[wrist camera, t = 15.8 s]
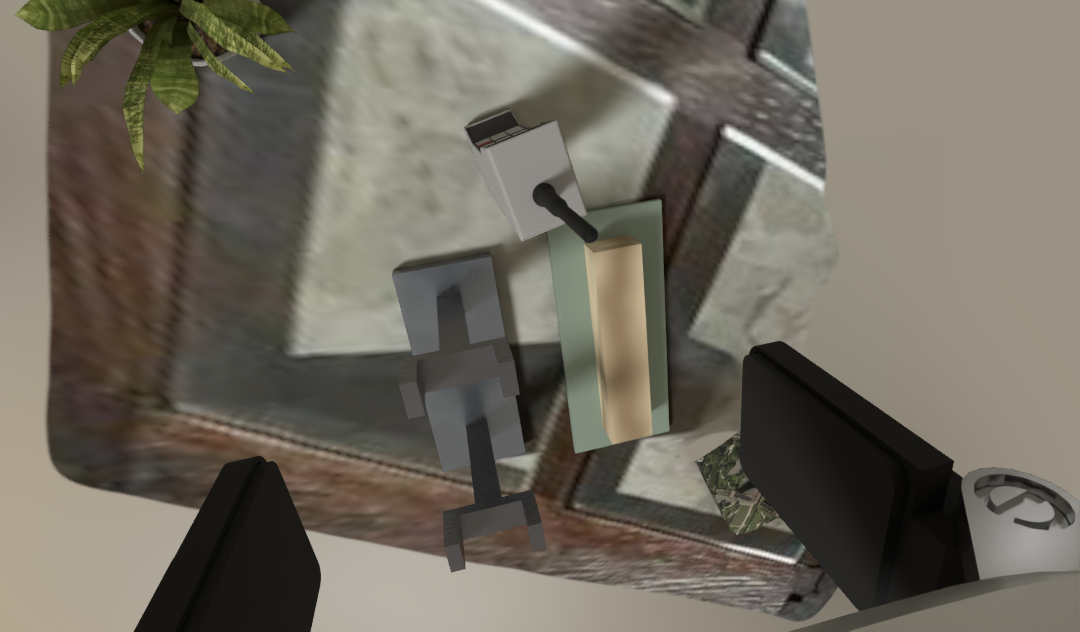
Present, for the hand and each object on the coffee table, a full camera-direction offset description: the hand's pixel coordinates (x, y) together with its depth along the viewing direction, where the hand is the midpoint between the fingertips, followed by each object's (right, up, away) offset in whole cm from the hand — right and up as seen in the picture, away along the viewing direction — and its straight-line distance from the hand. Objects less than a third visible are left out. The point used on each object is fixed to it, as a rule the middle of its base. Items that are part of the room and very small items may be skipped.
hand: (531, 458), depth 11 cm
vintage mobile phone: (-3, +16, +31) cm, 35 cm away
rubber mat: (+7, +1, +39) cm, 40 cm away
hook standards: (-7, -2, +37) cm, 38 cm away
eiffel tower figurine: (+24, -16, +51) cm, 59 cm away
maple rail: (+7, +1, +39) cm, 39 cm away
